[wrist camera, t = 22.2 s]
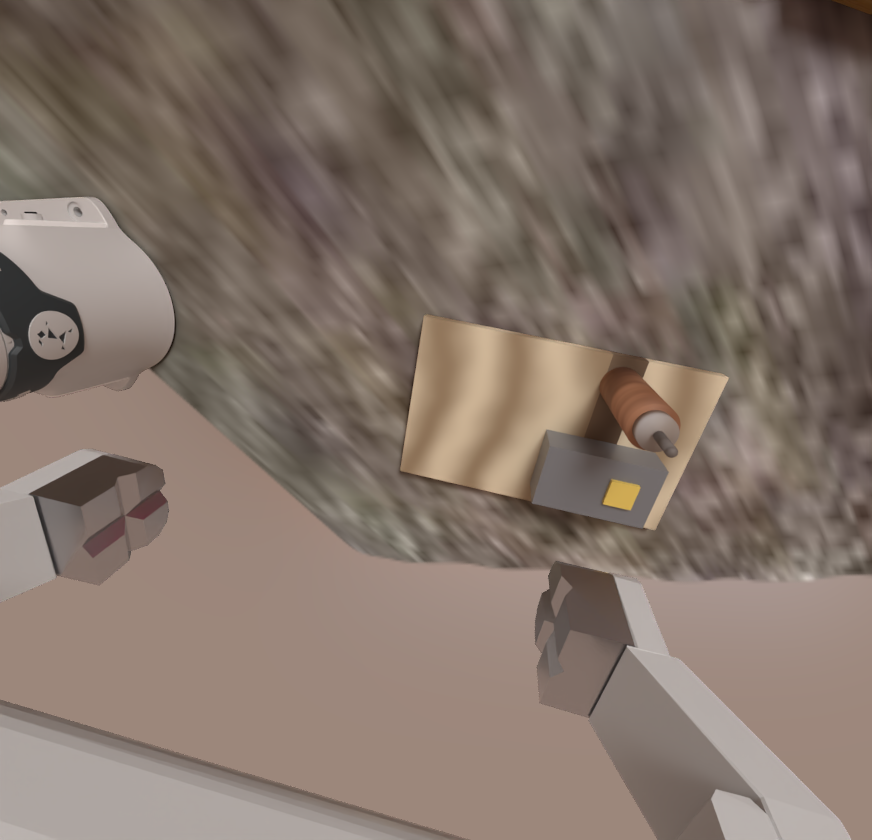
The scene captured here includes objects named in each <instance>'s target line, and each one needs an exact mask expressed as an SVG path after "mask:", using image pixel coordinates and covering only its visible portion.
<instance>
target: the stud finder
mask: <svg viewBox="0 0 872 840" xmlns="http://www.w3.org/2000/svg"><path fill="white" fill-rule="evenodd" d="M668 473H669V472H668V470H667V469H666V467H665V466H664V464H663V463H662V462H661V460H660V459H659V457H658V456H657V454H656V453H654V452H649V451H644V450H640V449H635V448H630V447H626V446H621V445H617V444H612V443H607V442H603V441H598V440H593V439H589V438H584V437H580V436H575V435H570V434H566V433H561V432H556V431H552V430H547V429H546V432H545V436H544V439H543V442H542V446H541V449H540V452H539V455H538V459H537V462H536V465H535V468H534V472H533V475H532V478H531V481H530V489H531V500H532V503H533V504H537V505H542V506H546V507H550V508H555V509H559V510H563V511H568V512H572V513H576V514H581V515H585V516H589V517H594V518H598V519H602V520H606V521H611V522H615V523H619V524H624V525H628V526H632V527H637V528H641V529H643V527H644V525H645V523H646V520H647V518H648V516H649V514H650V512H651V510H652V507H653V505H654V503H655V501H656V499H657V497H658V495H659V492H660V490H661V488H662V486H663V484H664V482H665V480H666V477H667V475H668Z"/></svg>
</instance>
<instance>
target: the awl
mask: <svg viewBox="0 0 872 840" xmlns="http://www.w3.org/2000/svg"><path fill="white" fill-rule="evenodd" d="M600 393H601V395H602V397H603V399H604V400H605V402H606V404H607V405H608V407H609V409H610V410H611V412H612V414H613V415H614V417H615V418H616V420H617V422H618V423H619V425H620V427H621V428H622V430H623V432H624V433H625V435H626V437H627V438H628V440H629V441H630V443H631V444H632V445H634V446H635V447H637V448H639V449H642V450H647V451H650V452H661V451H663V452H664V453H665V454H666V456H668V457H670V458H674V457H676V456H677V455H678V449H677V448H676V447H675V446H674V444H675V443H676V441H677V440H678V438H679V434H680V427H681V423H680V418H679V416H678V414H677V413H676V412H675V411H674V410H673V409H672V408H671V407H670V406H669V405H668V404H667V403H666V402H665V401H664V400H663V399H662V398H661V397H660V396H659V395H658V394H657V393H656V392H655V391H654V390H653V389H652V388H651V386H650V385H649V384H648V383H647V382H646V381H645V380H644V379H643V378H642V377H641V376H640V375H639V374H638V373H637V372H636V371H634V370H633V369H630V368H627V367H618V368H615V369H612V370H610V371H609V372H607V373H606V374H605V375H604V377H603V378H602V380H601V382H600Z"/></svg>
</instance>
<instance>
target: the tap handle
mask: <svg viewBox="0 0 872 840" xmlns="http://www.w3.org/2000/svg"><path fill="white" fill-rule="evenodd" d="M832 1H835V2H838V3H840V4H843V5H846V6H849V7H851V8H854V9H857V10H859V11H862V12H865V13H867V14H870V15H872V0H832Z"/></svg>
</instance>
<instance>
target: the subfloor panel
mask: <svg viewBox="0 0 872 840" xmlns="http://www.w3.org/2000/svg"><path fill="white" fill-rule="evenodd" d="M618 367H627V368H630V369H633V370H634V371H636V372H637V373H638V374H639V375H640V376H641V377H642V378H643V379H644V380H645V381H646V382H647V383H648V384H649V385H650V386H651V388H652V389H653V390H654V391H655V392H656V393H657V394H658V395H659V396H660V397H661V398H662V399H663V400H664V401H665V402H666V403H667V404H668V405H669V406H670V407H671V408H672V409H673V410H674V411H675V412H676V413H677V414H678V416H679V418H680V423H681V427H680V434H679V438H678V440H677V441H676V443H675V444H674V446H675V447H676V448H677V449H678V455H677V456H676V457H674V458H670V457H668V456H666V454H665V453H664V452H663V451H661V452H654V453H656V454H657V456H658V457H659V459H660V460H661V462H662V463H663V464H664V466H665V467H666V469H667V470H668V472H669V473H668V475H667V477H666V480H665V482H664V484H663V486H662V488H661V490H660V492H659V495H658V497H657V499H656V501H655V503H654V505H653V507H652V510H651V512H650V514H649V516H648V518H647V520H646V523H645V525H644V528H648V529H652V530H655V529H656V527H657V525H658V523H659V521H660V519H661V517H662V515H663V513H664V511H665V509H666V506H667V504H668V502H669V500H670V498H671V496H672V494H673V492H674V490H675V488H676V486H677V484H678V482H679V480H680V478H681V476H682V473H683V471H684V469H685V467H686V465H687V463H688V461H689V459H690V457H691V455H692V453H693V451H694V449H695V447H696V445H697V443H698V440H699V438H700V436H701V434H702V432H703V430H704V428H705V426H706V424H707V422H708V420H709V418H710V416H711V414H712V412H713V410H714V407H715V405H716V403H717V401H718V399H719V397H720V395H721V393H722V391H723V389H724V387H725V385H726V383H727V381H728V379H729V378H728V377H727V376H725V375H723V374H721V373H716V372H711V371H706V370H701V369H696V368H691V367H686V366H681V365H676V364H671V363H666V362H661V361H656V360H651V359H646V358H641V357H636V356H631V355H627V354H622V353H617V352H612V351H607V350H602V349H597V348H592V347H587V346H582V345H577V344H572V343H567V342H562V341H557V340H552V339H547V338H542V337H537V336H532V335H527V334H522V333H517V332H512V331H507V330H502V329H498V328H493V327H488V326H483V325H478V324H473V323H468V322H463V321H458V320H453V319H448V318H443V317H438V316H433V315H428V314H426V315H425V316H424V319H423V325H422V332H421V338H420V345H419V351H418V358H417V364H416V371H415V377H414V384H413V390H412V397H411V403H410V410H409V416H408V423H407V429H406V436H405V442H404V449H403V455H402V462H401V468H400V471H403V472H407V473H412V474H416V475H420V476H425V477H429V478H433V479H438V480H442V481H446V482H450V483H455V484H459V485H463V486H468V487H472V488H476V489H480V490H485V491H489V492H493V493H498V494H502V495H506V496H511V497H515V498H519V499H523V500H528V501H532V500H531V489H530V481H531V478H532V475H533V472H534V468H535V465H536V462H537V459H538V455H539V452H540V449H541V446H542V442H543V439H544V436H545V432H546V429H547V430H552V431H556V432H561V433H566V434H570V435H575V436H580V437H584V438H589V439H593V440H598V441H603V442H607V443H612V444H617V445H621V446H626V447H630V448H635V449H639V448H637V447H635V446H634V445H632V444H631V443H630V441H629V440H628V438H627V437H626V435H625V433H624V432H623V430H622V428H621V427H620V425H619V423H618V422H617V420H616V418H615V417H614V415H613V414H612V412H611V410H610V409H609V407H608V405H607V404H606V402H605V400H604V399H603V397H602V395H601V393H600V382H601V380H602V378H603V377H604V375H605V374H606V373H607V372H609V371H610V370H612V369H615V368H618ZM640 450H642V449H640ZM644 451H647V450H644ZM649 452H650V451H649Z"/></svg>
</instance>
